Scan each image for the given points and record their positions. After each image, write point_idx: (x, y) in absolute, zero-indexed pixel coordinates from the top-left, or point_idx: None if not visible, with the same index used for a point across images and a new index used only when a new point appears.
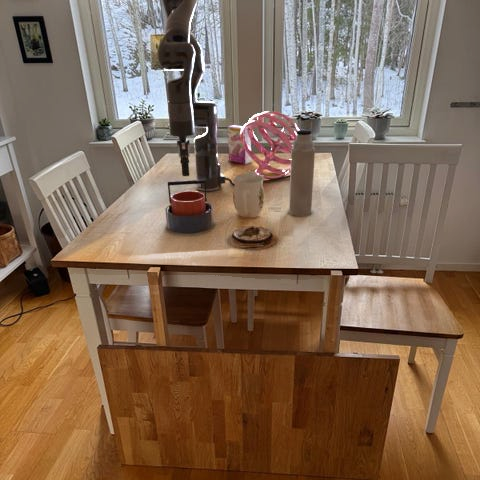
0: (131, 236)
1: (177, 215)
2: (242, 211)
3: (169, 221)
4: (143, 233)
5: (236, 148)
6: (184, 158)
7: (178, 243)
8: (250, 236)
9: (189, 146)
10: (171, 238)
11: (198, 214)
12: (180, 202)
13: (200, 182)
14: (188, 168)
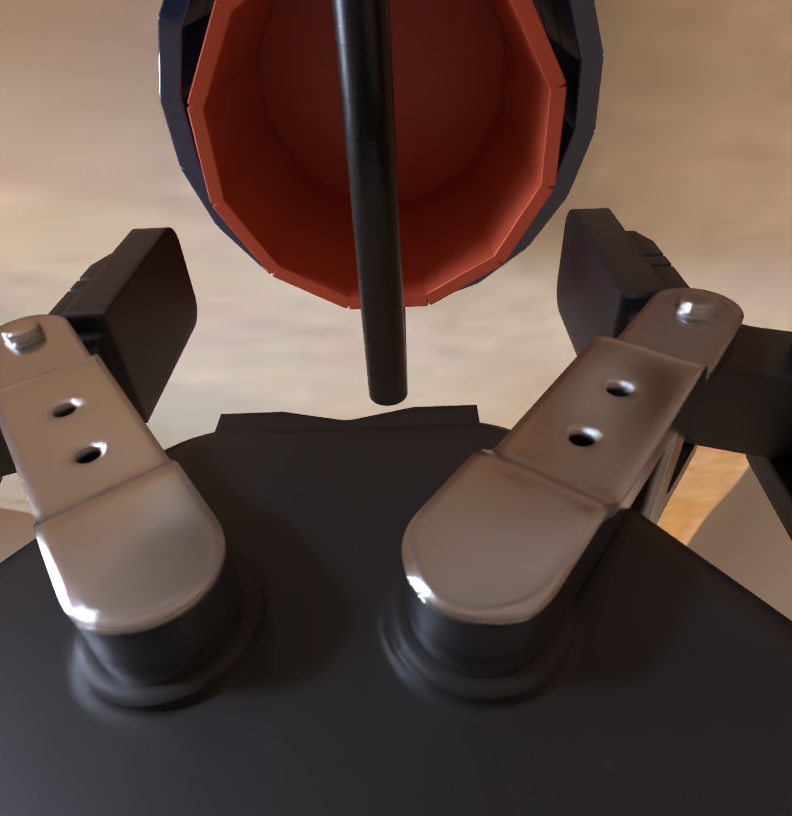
0: (483, 410)
1: (547, 209)
2: None
3: None
4: (453, 363)
5: None
6: (131, 363)
7: (674, 158)
8: None
9: (585, 494)
10: (573, 207)
11: (577, 6)
12: (533, 215)
13: None
14: (636, 258)
